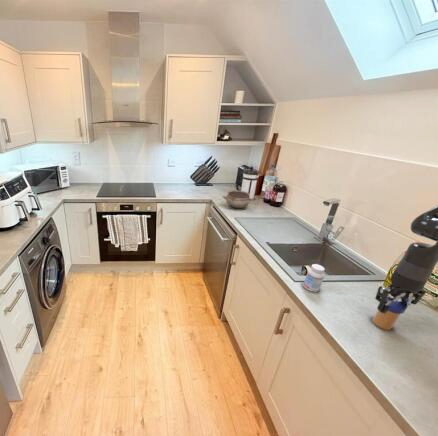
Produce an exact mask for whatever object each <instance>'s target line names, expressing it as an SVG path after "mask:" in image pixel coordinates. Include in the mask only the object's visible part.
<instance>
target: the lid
mask: <svg viewBox="0 0 438 436" xmlns="http://www.w3.org/2000/svg"><path fill="white" fill-rule="evenodd" d="M388 300H389V299H388V298H387V299H386V301H388ZM399 301H400V300H397V301H396V302H392V303H391V304H389V306H388V308H387V310H389V311H391V312H394V313H398V314H400V315H401V314H404V313H405V311H406V310H407V308H406V307H405V306H404V305H403V304H402V303H401V302H399ZM405 309H406V310H405ZM403 312H404V313H403Z"/></svg>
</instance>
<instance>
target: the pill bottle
mask: <svg viewBox="0 0 438 436" xmlns="http://www.w3.org/2000/svg"><path fill="white" fill-rule="evenodd" d="M325 269H326V268H325V267H324V266H322V265H321V264H319V263H313V264H312V265H311V267H310V268H308V270H307V273H306V274H305V275H306V276H305V278H304V282H303V284H302V285H303V287H304V289H306V290H308V291H310V292H315V293H317V292H319V291H320V289H321V286H322V285H323V281H324V278H325Z"/></svg>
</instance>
